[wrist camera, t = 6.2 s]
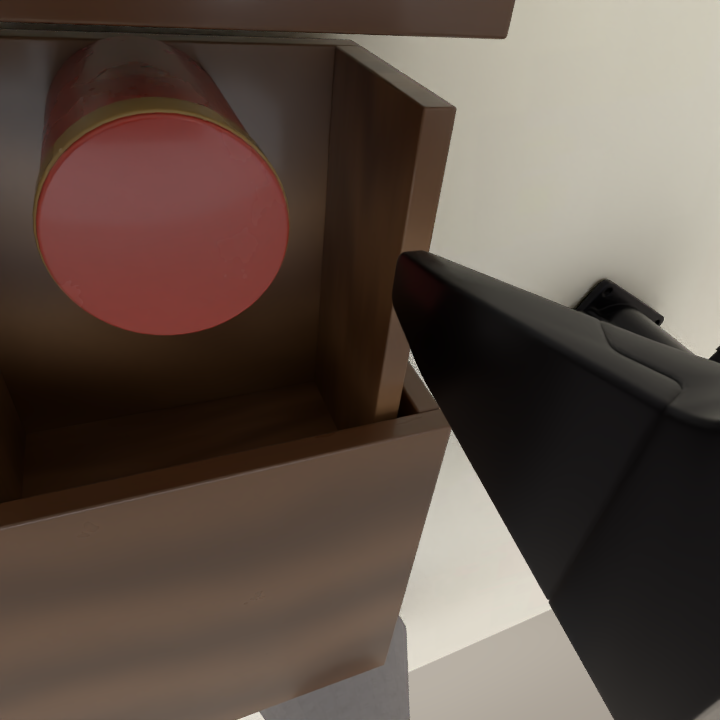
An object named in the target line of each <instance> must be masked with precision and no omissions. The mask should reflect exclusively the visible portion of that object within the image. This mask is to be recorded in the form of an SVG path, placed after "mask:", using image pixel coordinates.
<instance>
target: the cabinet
mask: <svg viewBox="0 0 720 720" xmlns="http://www.w3.org/2000/svg"><path fill="white" fill-rule="evenodd" d="M450 432H451V427H450V425H449V423H448V422H447V420H446V418H445V416H444V415H443V413H442V411H441V409H440V408H439V406H438V404H437V403H436V401H435V400H434V398H433V397H432V395H431V394H430V392H429V391H428V389H427V388H426V386H425V385H424V383H423V382H422V380H421V379H420V377H419V376H418V374H417V373H416V371H415V370H414V369H413V367H412V366H411V364H410V363H409V361H408V362H407V368H406V373H405V378H404V383H403V388H402V393H401V399H400V404H399V409H398V414H397V418H395V419H390V420H386V421H381V422H376V423H372V424H367V425H362V426H358V427H353V428H348V429H344V430H339V431H334V432H330V433H325V434H320V435H316V436H311V437H306V438H302V439H297V440H292V441H288V442H283V443H278V444H274V445H269V446H264V447H260V448H255V449H250V450H246V451H241V452H236V453H232V454H227V455H222V456H218V457H213V458H208V459H204V460H199V461H194V462H190V463H185V464H180V465H176V466H171V467H166V468H162V469H157V470H152V471H148V472H143V473H138V474H134V475H129V476H124V477H120V478H115V479H110V480H105V481H101V482H96V483H91V484H87V485H82V486H77V487H73V488H68V489H63V490H59V491H54V492H49V493H45V494H40V495H35V496H31V497H26V498H21V499H17V500H12V501H7V502H3V503H0V720H237V719H240V718H242V717H245V716H248V715H251V714H253V713H256V712H259V711H261V710H264V709H267V708H269V707H272V706H275V705H277V704H280V703H283V702H286V701H288V700H291V699H294V698H296V697H299V696H302V695H304V694H307V693H310V692H312V691H315V690H318V689H321V688H323V687H326V686H329V685H331V684H334V683H337V682H339V681H342V680H345V679H347V678H350V677H353V676H356V675H358V674H361V673H364V672H366V671H369V670H372V669H374V668H377V667H380V666H382V665H384V664H385V661H386V658H387V654H388V651H389V647H390V644H391V640H392V637H393V633H394V629H395V626H396V622H397V619H398V615H399V612H400V608H401V605H402V601H403V598H404V594H405V591H406V587H407V584H408V580H409V577H410V573H411V570H412V566H413V563H414V559H415V556H416V552H417V549H418V545H419V541H420V538H421V534H422V531H423V527H424V524H425V520H426V517H427V513H428V510H429V506H430V503H431V499H432V496H433V492H434V489H435V485H436V482H437V478H438V475H439V471H440V468H441V464H442V461H443V457H444V453H445V450H446V446H447V443H448V439H449V436H450Z"/></svg>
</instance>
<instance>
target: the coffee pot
mask: <svg viewBox="0 0 720 720" xmlns="http://www.w3.org/2000/svg"><path fill="white" fill-rule="evenodd" d="M259 712H260V713H261V715H262V716H263V718H264V719H265V720H410V714H409V689H408V660H407V633H406V626H405V624H404V623H403V621H402V619H401V618H400V616H399V615H398V619H397V622H396V626H395V629H394V633H393V637H392V640H391V644H390V647H389V651H388V654H387V658H386V661H385V664H384V665H382V666H380V667H377V668H374V669H372V670H369V671H366V672H364V673H361V674H358V675H356V676H353V677H350V678H347V679H345V680H342V681H339V682H337V683H334V684H331V685H329V686H326V687H323V688H321V689H318V690H315V691H312V692H310V693H307V694H304V695H302V696H299V697H296V698H294V699H291V700H288V701H286V702H283V703H280V704H277V705H275V706H272V707H269V708H267V709H264V710H261V711H259Z"/></svg>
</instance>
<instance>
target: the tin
mask: <svg viewBox="0 0 720 720" xmlns="http://www.w3.org/2000/svg"><path fill="white" fill-rule="evenodd" d="M32 215H33V232H34V237H35V242H36V247H37V249H38V252H39V255H40V257H41V260H42V262H43V264H44V266H45V268H46V269H47V271H48V273H49V275H50V276H51V278H52V279H53V280H54V281H55V283H56V284H57V285H58V287H59V288H60V289H61V290H62V291H63V292H64V293H65V294H66V295H67V296H68V297H69V298H70V299H71V300H72V301H73V302H75V303H76V304H77V305H78V306H80V307H81V308H82V309H83V310H85V311H86V312H88V313H89V314H91V315H93V316H94V317H96V318H98V319H99V320H102V321H104V322H106V323H108V324H110V325H112V326H115V327H118V328H121V329H124V330H128V331H132V332H137V333H141V334H149V335H182V334H189V333H194V332H199V331H202V330H206V329H209V328H212V327H215V326H217V325H220V324H222V323H224V322H226V321H228V320H230V319H232V318H234V317H236V316H237V315H239V314H240V313H242V312H243V311H245V310H246V309H247V308H249V307H250V306H251V305H252V304H253V303H254V302H255V301H257V300H258V299H259V298H260V297H261V295H262V294H263V293H264V292H265V291H266V290H267V289H268V287H269V286H270V284H271V283H272V281H273V280H274V278H275V277H276V275H277V273H278V271H279V269H280V267H281V265H282V262H283V259H284V256H285V254H286V250H287V246H288V241H289V234H290V211H289V206H288V201H287V197H286V194H285V191H284V188H283V185H282V183H281V181H280V179H279V177H278V175H277V173H276V171H275V169H274V168H273V166H272V165H271V163H270V162H269V160H268V159H267V157H266V156H265V154H264V153H263V151H262V150H261V148H260V147H259V146H258V144H257V143H256V142H255V141H254V140H253V139H252V138H251V137H250V136H249V134H248V133H247V131H246V129H245V128H244V126H243V125H242V123H241V122H240V120H239V119H238V117H237V116H236V114H235V113H234V111H233V110H232V108H231V107H230V105H229V103H228V102H227V100H226V99H225V97H224V96H223V94H222V93H221V91H220V90H219V88H218V87H217V85H216V84H215V82H214V81H213V79H212V78H211V77H210V75H209V74H208V73H207V72H206V71H205V70H204V69H203V68H202V67H201V66H200V65H199V64H198V63H197V62H196V61H195V60H194V59H192V58H191V57H189V56H188V55H187V54H185V53H184V52H182V51H181V50H179V49H177V48H175V47H173V46H171V45H169V44H166V43H164V42H161V41H158V40H155V39H151V38H146V37H140V36H115V37H110V38H104V39H101V40H99V41H96V42H93V43H91V44H89V45H87V46H85V47H83V48H81V49H80V50H78V51H77V52H76V53H74V54H73V55H72V56H70V57H69V58H68V60H67V61H66V62H65V63H64V64H63V65H62V66H61V67H60V69H59V70H58V72H57V73H56V75H55V76H54V79H53V81H52V83H51V85H50V87H49V91H48V94H47V98H46V105H45V114H44V125H43V137H42V149H41V160H40V171H39V174H38V178H37V181H36V186H35V195H34V204H33V214H32Z"/></svg>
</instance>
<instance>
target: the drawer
mask: <svg viewBox="0 0 720 720" xmlns="http://www.w3.org/2000/svg"><path fill="white" fill-rule="evenodd" d="M514 4H515V0H0V22H14V23H43V24H73V25H102V26H131V27H160V28H189V29H218V30H247V31H276V32H305V33H334V34H363V35H393V36H422V37H451V38H480V39H505V38H506V37H507V34H508V30H509V25H510V21H511V17H512V12H513V8H514ZM115 36H140V37H146V38H151V39H155V40H158V41H161V42H164V43H166V44H169V45H171V46H173V47H175V48H177V49H179V50H181V51H182V52H184V53H185V54H187V55H188V56H189V57H191V58H192V59H194V60H195V61H196V62H197V63H198V64H199V65H200V66H201V67H202V68H203V69H204V70H205V71H206V72H207V73H208V74H209V75H210V77H211V78H212V79H213V81H214V82H215V84H216V85H217V87H218V88H219V90H220V91H221V93H222V94H223V96H224V97H225V99H226V100H227V102H228V103H229V105H230V107H231V108H232V110H233V111H234V113H235V114H236V116H237V117H238V119H239V120H240V122H241V123H242V125H243V126H244V128H245V129H246V131H247V133H248V134H249V136H250V137H251V138H252V139H253V140H254V141H255V142H256V143H257V144H258V146H259V147H260V148H261V150H262V151H263V153H264V154H265V156H266V157H267V159H268V160H269V162H270V163H271V165H272V166H273V168H274V169H275V171H276V173H277V175H278V177H279V179H280V181H281V183H282V185H283V188H284V191H285V194H286V197H287V201H288V206H289V211H290V234H289V241H288V246H287V250H286V254H285V256H284V259H283V262H282V265H281V267H280V269H279V271H278V273H277V275H276V277H275V278H274V280H273V281H272V283H271V284H270V286H269V287H268V289H267V290H266V291H265V292H264V293H263V294H262V295H261V297H260V298H259V299H258V300H257V301H255V302H254V303H253V304H252V305H251V306H250V307H249V308H247V309H246V310H245V311H243V312H242V313H240V314H239V315H237V316H236V317H234V318H232V319H230V320H228V321H226V322H224V323H222V324H220V325H217V326H215V327H212V328H209V329H206V330H202V331H199V332H194V333H189V334H182V335H149V334H141V333H137V332H132V331H128V330H124V329H121V328H118V327H115V326H112V325H110V324H108V323H106V322H104V321H102V320H99V319H98V318H96V317H94V316H93V315H91V314H89V313H88V312H86V311H85V310H83V309H82V308H81V307H80V306H78V305H77V304H76V303H75V302H73V301H72V300H71V299H70V298H69V297H68V296H67V295H66V294H65V293H64V292H63V291H62V290H61V289H60V288H59V287H58V285H57V284H56V283H55V281H54V280H53V279H52V278H51V276H50V275H49V273H48V271H47V269H46V268H45V266H44V264H43V262H42V260H41V257H40V255H39V252H38V249H37V247H36V242H35V237H34V232H33V215H32V214H33V204H34V195H35V186H36V181H37V178H38V174H39V171H40V160H41V149H42V137H43V125H44V114H45V105H46V98H47V94H48V91H49V87H50V85H51V83H52V81H53V79H54V76H55V75H56V73H57V72H58V70H59V69H60V67H61V66H62V65H63V64H64V63H65V62H66V61H67V60H68V58H69V57H70V56H72V55H73V54H74V53H76V52H77V51H78V50H80V49H81V48H83V47H85V46H87V45H89V44H91V43H93V42H96V41H99V40H101V39H104V38H110V37H115ZM455 114H456V107H455V106H453V105H451V104H450V103H448V102H447V101H445V100H444V99H442V98H441V97H439V96H438V95H436V94H434V93H433V92H431V91H430V90H428V89H427V88H425V87H424V86H422V85H421V84H419V83H417V82H416V81H414V80H413V79H411V78H410V77H408V76H407V75H405V74H404V73H402V72H400V71H399V70H397V69H396V68H394V67H393V66H391V65H390V64H388V63H386V62H385V61H383V60H382V59H380V58H379V57H377V56H376V55H374V54H373V53H371V52H369V51H368V50H366V49H365V48H363V47H362V46H360V45H358V44H357V43H355V42H353V41H352V40H341V39H308V38H276V37H243V36H211V35H178V34H146V33H113V32H81V31H48V30H16V29H0V503H3V502H7V501H12V500H17V499H21V498H26V497H31V496H35V495H40V494H45V493H49V492H54V491H59V490H63V489H68V488H73V487H77V486H82V485H87V484H91V483H96V482H101V481H105V480H110V479H115V478H120V477H124V476H129V475H134V474H138V473H143V472H148V471H152V470H157V469H162V468H166V467H171V466H176V465H180V464H185V463H190V462H194V461H199V460H204V459H208V458H213V457H218V456H222V455H227V454H232V453H236V452H241V451H246V450H250V449H255V448H260V447H264V446H269V445H274V444H278V443H283V442H288V441H292V440H297V439H302V438H306V437H311V436H316V435H320V434H325V433H330V432H334V431H339V430H344V429H348V428H353V427H358V426H362V425H367V424H372V423H376V422H381V421H386V420H390V419H395V418H397V414H398V409H399V404H400V399H401V393H402V388H403V383H404V378H405V373H406V368H407V362H408V357H409V352H410V347H409V344H408V342H407V339H406V337H405V334H404V332H403V330H402V327H401V325H400V322H399V320H398V317H397V315H396V313H395V310H394V307H393V304H392V289H393V282H394V276H395V269H396V263H397V259H398V257H399V255H400V254H401V253H402V252H406V251H416V250H424V251H427V252H429V249H430V244H431V238H432V233H433V228H434V223H435V218H436V213H437V207H438V202H439V197H440V192H441V187H442V182H443V176H444V171H445V166H446V161H447V156H448V151H449V145H450V140H451V135H452V130H453V125H454V120H455Z"/></svg>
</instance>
